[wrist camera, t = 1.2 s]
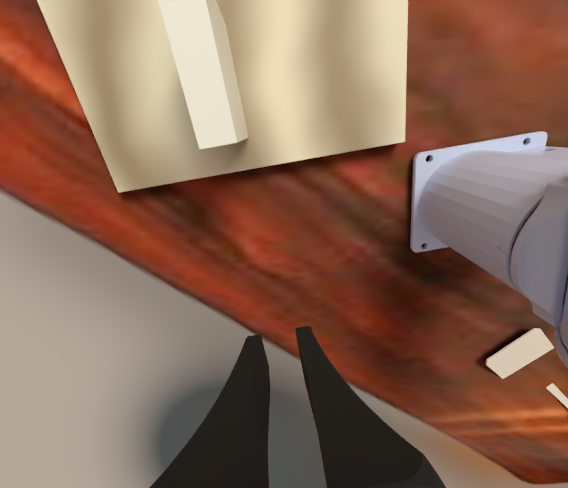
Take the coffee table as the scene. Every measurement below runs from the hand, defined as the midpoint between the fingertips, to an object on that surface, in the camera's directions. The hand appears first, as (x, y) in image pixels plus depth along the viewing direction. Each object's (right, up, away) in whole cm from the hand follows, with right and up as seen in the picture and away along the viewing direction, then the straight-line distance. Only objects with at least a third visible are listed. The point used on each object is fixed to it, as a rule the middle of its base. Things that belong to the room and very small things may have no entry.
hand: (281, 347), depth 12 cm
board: (-3, +17, +4) cm, 17 cm away
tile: (-4, +14, +4) cm, 15 cm away
